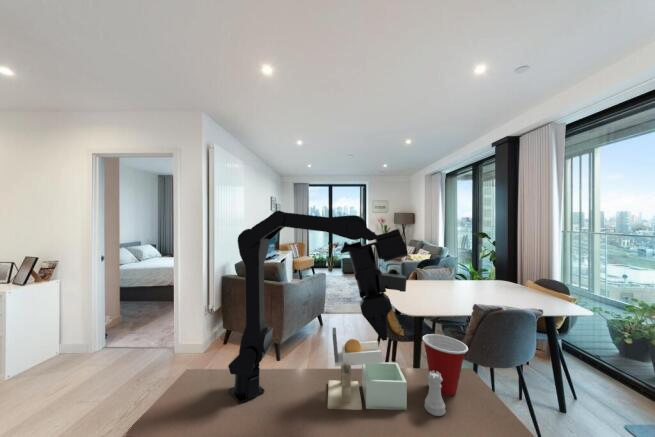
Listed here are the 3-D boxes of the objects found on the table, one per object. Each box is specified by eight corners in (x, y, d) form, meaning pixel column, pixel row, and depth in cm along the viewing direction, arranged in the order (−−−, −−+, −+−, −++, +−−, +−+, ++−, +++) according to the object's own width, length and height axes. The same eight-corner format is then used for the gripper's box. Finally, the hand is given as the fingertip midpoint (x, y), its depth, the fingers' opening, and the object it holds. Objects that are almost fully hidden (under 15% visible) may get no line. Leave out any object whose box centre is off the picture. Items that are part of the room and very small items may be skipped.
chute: (335, 366, 62) (332, 335, 62) (335, 354, 68) (332, 326, 68) (382, 362, 62) (380, 331, 62) (378, 351, 68) (376, 323, 68)
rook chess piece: (436, 419, 57) (436, 380, 57) (419, 407, 61) (419, 371, 61) (450, 413, 59) (450, 376, 59) (433, 402, 63) (433, 366, 63)
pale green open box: (366, 408, 60) (366, 380, 60) (361, 385, 69) (362, 361, 69) (406, 410, 60) (406, 382, 60) (397, 386, 69) (397, 362, 69)
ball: (343, 358, 65) (339, 342, 65) (354, 351, 68) (350, 335, 68) (355, 361, 62) (351, 344, 62) (366, 353, 65) (362, 337, 65)
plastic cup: (475, 405, 62) (474, 352, 62) (425, 398, 64) (425, 347, 64) (461, 380, 72) (461, 335, 73) (419, 375, 74) (419, 331, 75)
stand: (327, 409, 59) (328, 367, 60) (328, 383, 70) (329, 347, 70) (361, 410, 59) (362, 368, 60) (357, 384, 69) (358, 348, 70)
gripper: (405, 263, 54) (427, 340, 53) (392, 255, 72) (408, 312, 71) (352, 276, 55) (372, 353, 53) (352, 265, 73) (368, 322, 72)
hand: (382, 332), depth 62 cm, fingers open, 9 cm apart
